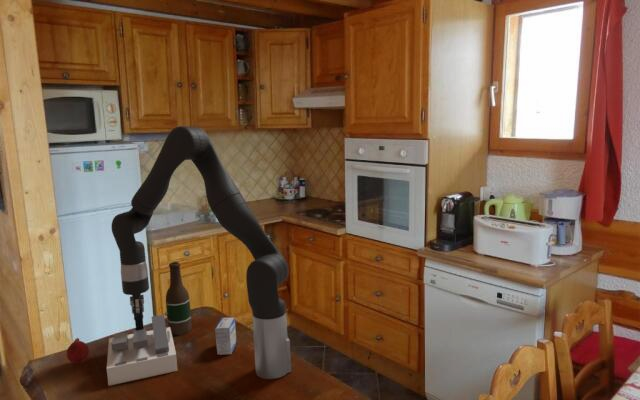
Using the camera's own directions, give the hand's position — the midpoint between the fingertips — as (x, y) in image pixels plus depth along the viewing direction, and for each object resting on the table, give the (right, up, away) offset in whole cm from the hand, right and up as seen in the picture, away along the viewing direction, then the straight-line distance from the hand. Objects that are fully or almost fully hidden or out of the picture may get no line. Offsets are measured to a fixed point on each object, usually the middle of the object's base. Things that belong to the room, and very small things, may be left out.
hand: (139, 329), depth 144 cm
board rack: (+3, -8, -5) cm, 10 cm away
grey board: (-2, -1, -9) cm, 9 cm away
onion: (-16, -9, -6) cm, 19 cm away
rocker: (+3, 0, -7) cm, 7 cm away
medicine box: (+27, -6, +1) cm, 28 cm away
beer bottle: (+8, -5, +15) cm, 17 cm away
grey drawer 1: (+8, 0, -5) cm, 9 cm away
